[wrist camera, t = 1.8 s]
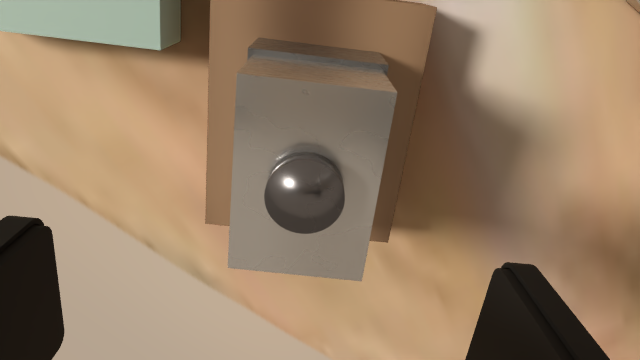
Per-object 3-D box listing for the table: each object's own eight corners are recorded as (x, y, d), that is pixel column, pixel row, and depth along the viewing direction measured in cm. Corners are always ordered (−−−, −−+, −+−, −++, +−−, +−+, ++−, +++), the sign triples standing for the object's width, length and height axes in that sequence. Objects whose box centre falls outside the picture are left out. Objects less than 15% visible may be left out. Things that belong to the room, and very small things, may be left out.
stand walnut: (421, 3, 21) (437, 7, 18) (380, 214, 25) (387, 242, 23) (225, -23, 21) (210, -22, 18) (217, 196, 25) (205, 223, 22)
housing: (379, 52, 19) (410, 93, 12) (354, 202, 22) (368, 301, 15) (258, 37, 19) (224, 70, 12) (249, 190, 22) (216, 286, 15)
